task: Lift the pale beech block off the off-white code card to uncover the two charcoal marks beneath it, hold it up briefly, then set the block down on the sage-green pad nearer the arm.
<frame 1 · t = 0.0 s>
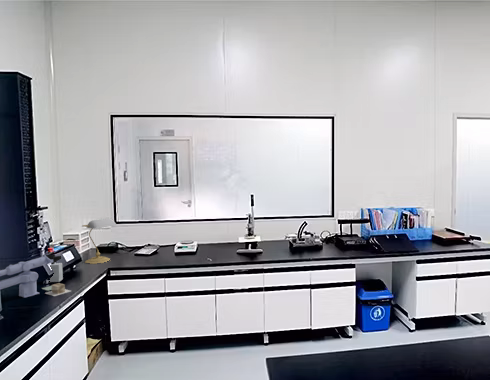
hand: (57, 256, 242), 22 cm above the lab bench, tool horizontal, fingers open, 7 cm apart
desk lamp: (98, 261, 318), on the lab bench
beech block: (58, 292, 230), resting on code card
sage pad: (50, 288, 239), on the lab bench
code card: (58, 292, 230), on the lab bench
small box: (55, 281, 257), on the lab bench
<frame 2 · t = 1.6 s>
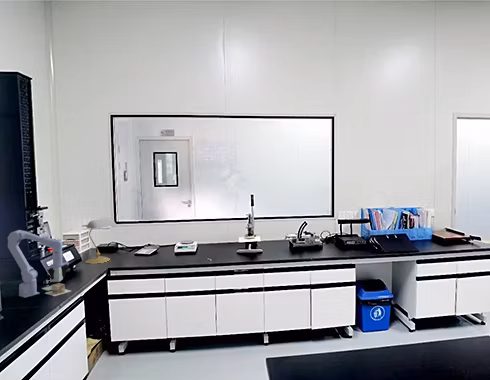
hand: (58, 277, 230), 10 cm above the lab bench, tool pointing down, fingers open, 7 cm apart
nothing on the lab bench moved.
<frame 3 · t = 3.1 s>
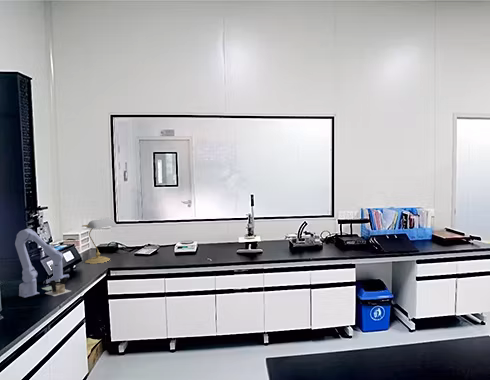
hand: (58, 290, 230), 1 cm above the lab bench, tool pointing down, fingers closed on beech block, 5 cm apart
beech block: (58, 292, 230), resting on code card, touching gripper
everything else where it was.
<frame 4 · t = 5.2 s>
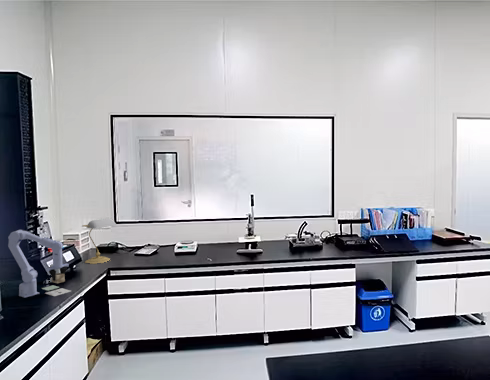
hand: (58, 279, 230), 9 cm above the lab bench, tool pointing down, fingers closed on beech block, 5 cm apart
beech block: (58, 281, 230), point 7 cm above the lab bench, touching gripper
everything else where it was.
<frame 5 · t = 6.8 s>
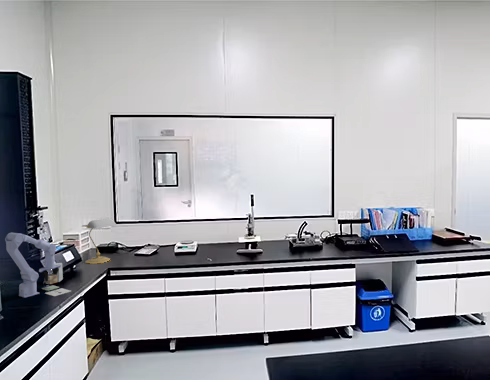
hand: (50, 279, 238), 6 cm above the lab bench, tool pointing down, fingers closed on beech block, 5 cm apart
beech block: (51, 282, 238), point 4 cm above the lab bench, touching gripper
everything else where it was.
when the fingers open (3 cm above the lab bench, at t = 7.8 s): beech block drops 1 cm, resting on sage pad.
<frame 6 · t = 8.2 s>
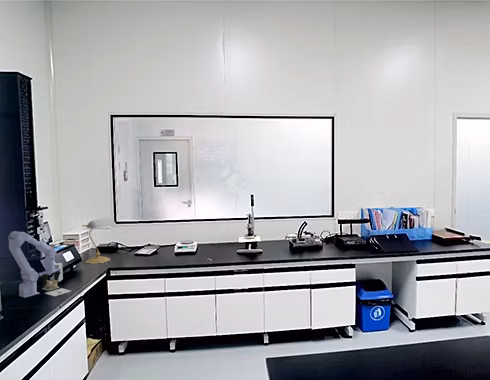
hand: (50, 283, 238), 3 cm above the lab bench, tool pointing down, fingers open, 7 cm apart
beech block: (51, 287, 238), resting on sage pad
everything else where it was.
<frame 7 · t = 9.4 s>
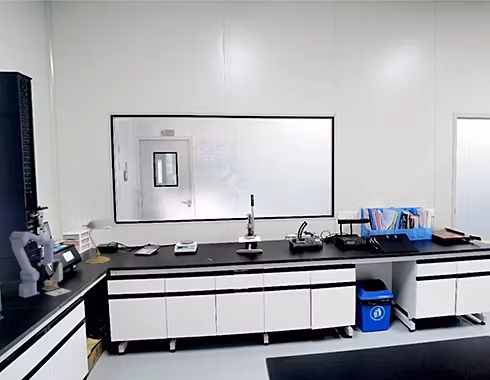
hand: (49, 273, 243), 9 cm above the lab bench, tool pointing down, fingers open, 7 cm apart
nothing on the lab bench moved.
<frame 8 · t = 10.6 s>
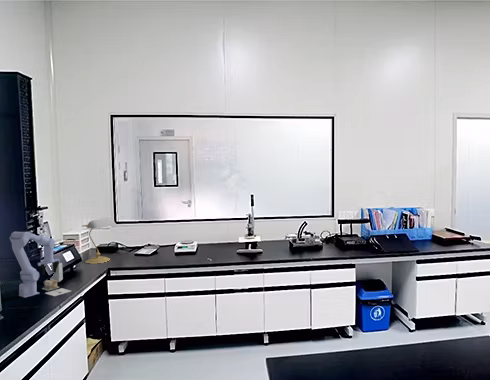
hand: (49, 273, 243), 9 cm above the lab bench, tool pointing down, fingers open, 7 cm apart
nothing on the lab bench moved.
at the end: beech block 0.5 cm off-centre on the sage pad, point 0.5 cm above the sage pad's base; beech block tilted 0°; the gripper is holding nothing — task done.
